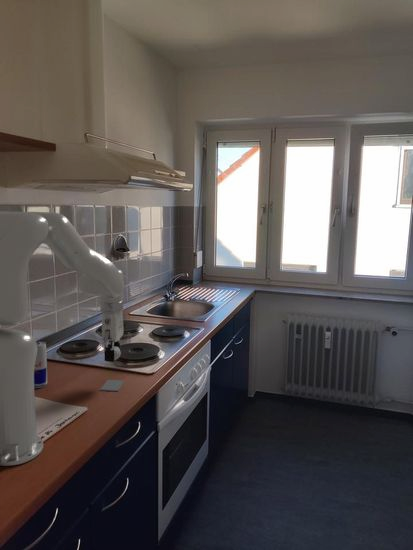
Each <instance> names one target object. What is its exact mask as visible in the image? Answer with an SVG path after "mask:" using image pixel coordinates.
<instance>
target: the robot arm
mask: <svg viewBox="0 0 413 550" xmlns="http://www.w3.org/2000/svg"><path fill="white" fill-rule="evenodd" d="M86 243H87V242H85V241H84V240H83V238H82V237H81V235H80V233H78V231H77V229H76V228H75V227H74V225H73V224H72V223H71V221H70V220H69V219H68V218H67V216H65V215H63V214H62V213H59V212H52V211H51V212H50V211H49V212H48V211H46V212H45V211H5V210H4V211H2V210H1V211H0V325H1V326H18V325H20V324H22V323H24V322H25V320H26V319H27V318H28V315H29V292H28V289H29V288H28V266H29V263H30V259H31V258H32V256H33V254H34V253H35V252H36V250H37V249H39V247H40V246H41V245H42V244H44V245H46V246H47V247H48V248H49V249H50V250H51V251H52V252H53V253H54V255H55V256H56V257H57V259H58V260H59V261H60V262H61V263H62V265H63V266H65V267H66V268H69V269H70V270H72V271H75V272H77V273H81V275H80V277H79V278H78V280H77V288H78V290H79V291H80V292H81V293H82V294H84V295H88V296H93V297H94V296H95V297H99V304H100V305H99V307H100V308H99V310H100V312H101V313H102V314H101V315H102V317H101V339H102V342H103V343H102V344H103V346H104V347H103V349H104V352H103V353H104V355H103V356H104V361H105V362H111V363H112V362H115V360H114V350H113V347H114V346H116V347H118V348H119V349H120V350H121V343H120V342H121V338H122V336H123V335H124V333H125V332H124V316H123V312H124V290H125V280H124V273H123V271H122V270H121V269H120V268H119V269H118V268H117V266H116V265H115V264H114V263H113V262H112V260H109V259H108V258H107V257H105V256H104V255H102V254H101V253H99V252H98V251H96V250H94V249H92V248H91V247H89V246H88V245H87V244H86ZM1 326H0V466H4V467H10V466H17V465H21V464H25V463H27V462H30V461H31V460H33V459H35V458H36V457H38V455H40V454H41V453H42V451H43V449H44V441H43V439H42V438H41V437H39V436H38V435H37V419H36V418H37V417H36V398H35V397H36V396H35V395H36V393H35V392H36V391H35V387H34V368H35V361H36V355H37V343H36V342H37V341H36V339H35V338H34V336H32V335H31V334H30V333H28V332H26V331H23V330H19V329H13V328H7V327H1Z"/></svg>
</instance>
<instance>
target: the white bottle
mask: <svg viewBox="0 0 413 550" xmlns="http://www.w3.org/2000/svg"><path fill="white" fill-rule="evenodd" d="M36 343H37V355H36V361H35V368H34V389H41V388H45V386H47V384H48V364H47V363H48V361H47V359H48V358H47V343H46V342H45V341H36Z"/></svg>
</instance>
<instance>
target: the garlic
mask: <svg viewBox="0 0 413 550" xmlns="http://www.w3.org/2000/svg"><path fill="white" fill-rule="evenodd" d="M113 350H114V361H116V360H118V359H119V358H120V357H121V354H122V353H121V348H120V349H119V348H118V347H116V346H114V347H113Z"/></svg>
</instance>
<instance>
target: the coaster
mask: <svg viewBox="0 0 413 550" xmlns="http://www.w3.org/2000/svg"><path fill="white" fill-rule="evenodd" d="M124 383H125V380H118V379H116V380H114V379H107V380H106V381H105V383H104V384H103V385H102V386H101V388H100V391H103V392H119V391H120V389H121V388H122V386H123V385H124Z"/></svg>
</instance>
